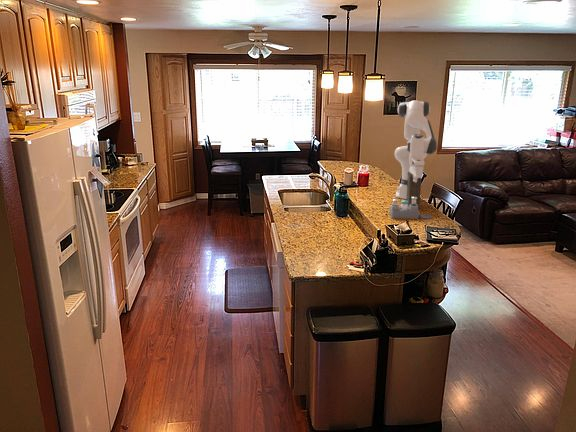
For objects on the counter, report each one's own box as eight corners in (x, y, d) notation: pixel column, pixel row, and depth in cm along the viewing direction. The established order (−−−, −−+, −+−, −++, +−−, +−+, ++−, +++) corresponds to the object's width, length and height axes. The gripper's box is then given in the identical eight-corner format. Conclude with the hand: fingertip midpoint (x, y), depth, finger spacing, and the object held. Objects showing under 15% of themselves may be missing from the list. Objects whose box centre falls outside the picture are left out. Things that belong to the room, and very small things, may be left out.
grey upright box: (420, 210, 313) (422, 174, 306) (407, 210, 314) (409, 174, 307) (417, 203, 331) (419, 169, 324) (405, 202, 332) (407, 168, 325)
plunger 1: (391, 207, 301) (392, 199, 300) (397, 207, 301) (397, 198, 300) (392, 209, 298) (393, 200, 296) (398, 209, 298) (398, 200, 296)
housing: (389, 214, 306) (389, 203, 304) (415, 213, 305) (415, 202, 303) (392, 218, 296) (392, 207, 294) (418, 218, 296) (419, 207, 294)
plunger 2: (410, 205, 300) (410, 196, 299) (415, 205, 300) (416, 196, 299) (411, 206, 297) (412, 197, 295) (417, 206, 297) (417, 197, 295)
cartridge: (399, 215, 303) (400, 200, 300) (406, 215, 303) (407, 200, 300) (400, 217, 299) (401, 202, 296) (408, 217, 299) (409, 202, 296)
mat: (417, 215, 302) (417, 214, 301) (429, 215, 301) (429, 214, 301) (420, 219, 294) (420, 218, 294) (432, 219, 294) (432, 218, 294)
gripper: (407, 157, 300) (406, 178, 304) (415, 163, 281) (413, 185, 285) (417, 157, 300) (416, 178, 304) (425, 163, 280) (423, 185, 284)
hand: (415, 181), depth 294 cm, fingers closed
